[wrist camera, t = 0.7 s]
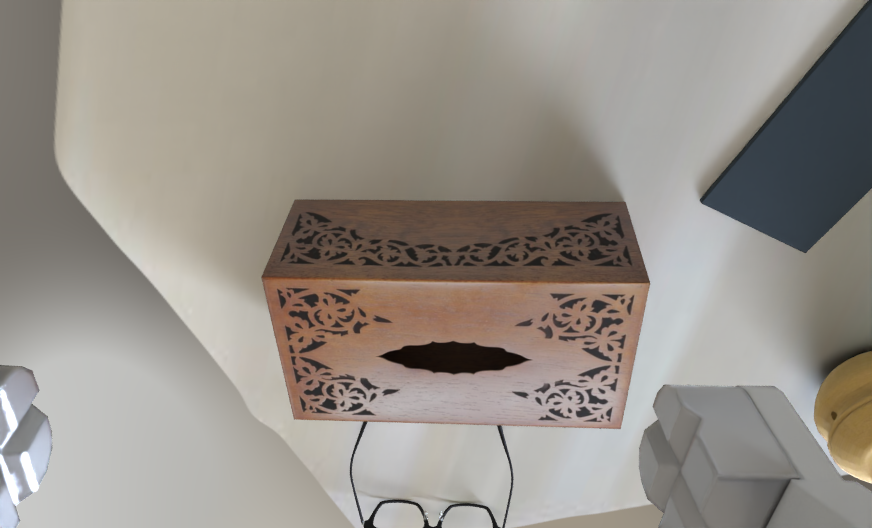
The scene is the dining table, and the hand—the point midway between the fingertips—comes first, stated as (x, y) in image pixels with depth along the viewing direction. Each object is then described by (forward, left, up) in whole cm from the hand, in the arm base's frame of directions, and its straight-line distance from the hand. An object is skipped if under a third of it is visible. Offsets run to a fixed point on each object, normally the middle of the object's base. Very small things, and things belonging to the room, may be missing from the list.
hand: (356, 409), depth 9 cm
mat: (-1, +31, -40) cm, 50 cm away
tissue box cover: (+25, +13, -40) cm, 49 cm away
